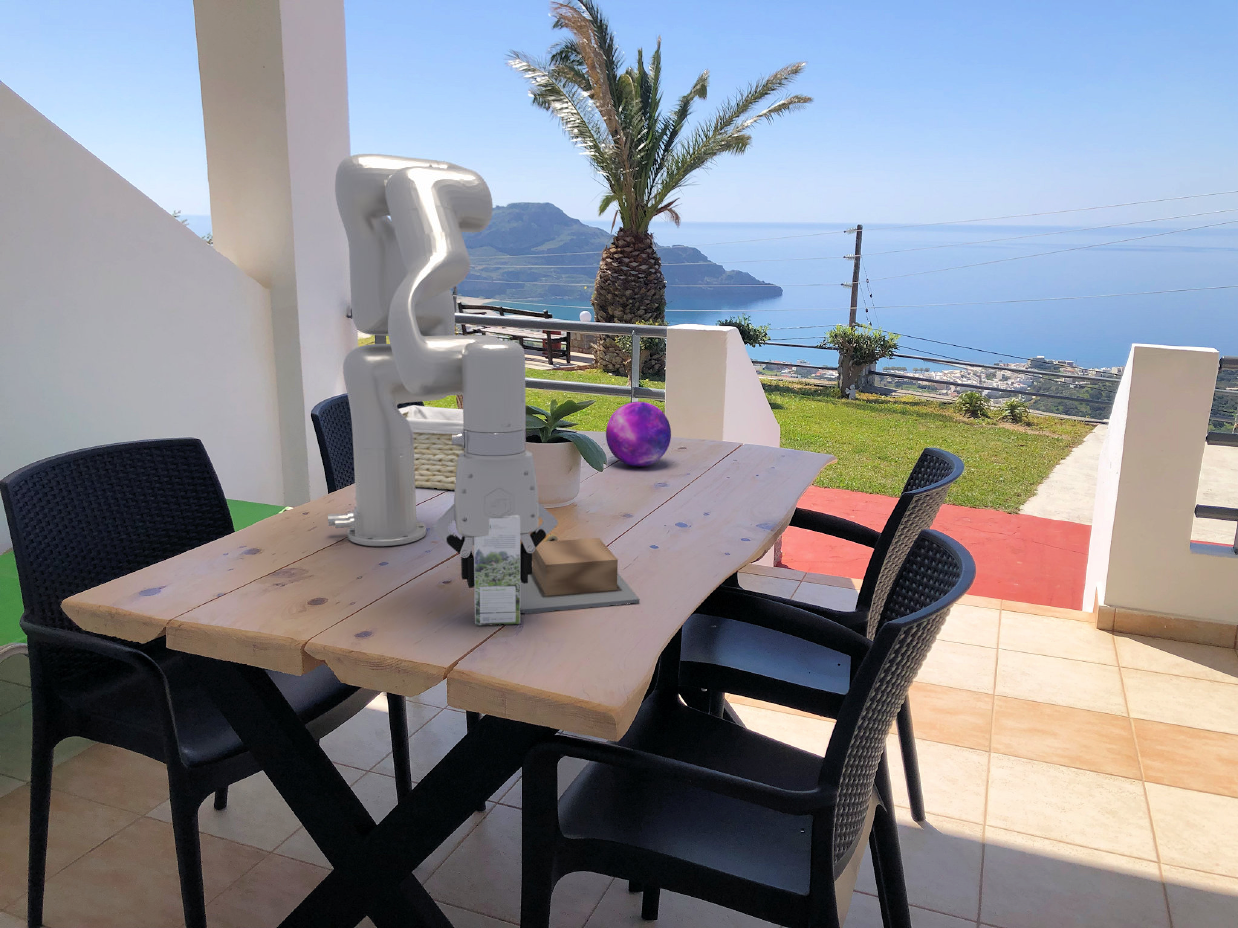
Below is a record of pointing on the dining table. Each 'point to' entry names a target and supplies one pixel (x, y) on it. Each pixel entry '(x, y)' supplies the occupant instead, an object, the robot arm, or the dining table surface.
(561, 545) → the plinth
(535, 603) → the slate mat
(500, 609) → the syrup box
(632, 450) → the decorative orb
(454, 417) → the storage basket
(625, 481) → the dining table surface
